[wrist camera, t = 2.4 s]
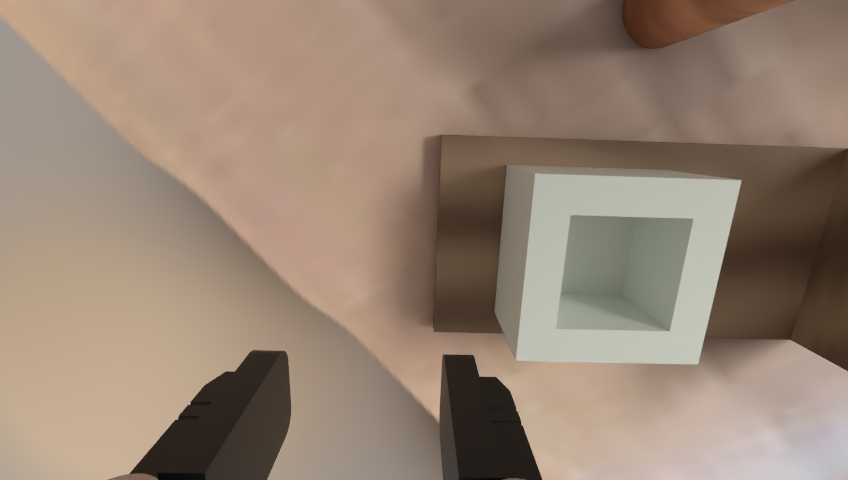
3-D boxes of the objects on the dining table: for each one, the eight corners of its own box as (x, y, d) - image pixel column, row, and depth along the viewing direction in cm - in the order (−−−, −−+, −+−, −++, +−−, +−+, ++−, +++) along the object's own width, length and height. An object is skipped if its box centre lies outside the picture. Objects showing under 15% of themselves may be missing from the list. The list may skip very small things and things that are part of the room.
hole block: (506, 164, 22) (535, 173, 17) (664, 169, 22) (741, 180, 17) (494, 311, 24) (515, 360, 19) (637, 315, 25) (698, 364, 19)
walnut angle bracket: (441, 134, 23) (456, 134, 14) (862, 149, 23) (1127, 157, 15) (433, 324, 26) (441, 420, 17) (805, 332, 26) (997, 429, 18)
